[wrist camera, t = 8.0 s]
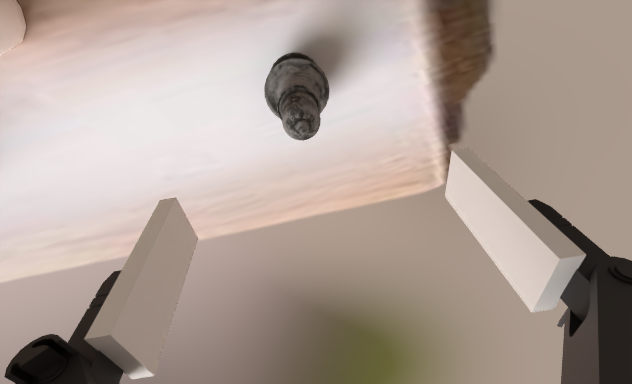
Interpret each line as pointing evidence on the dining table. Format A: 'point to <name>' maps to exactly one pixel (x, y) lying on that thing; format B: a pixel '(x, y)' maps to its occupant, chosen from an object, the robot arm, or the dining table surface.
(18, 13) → the foam cup
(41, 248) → the dining table surface
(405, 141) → the dining table surface
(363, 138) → the dining table surface
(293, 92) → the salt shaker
